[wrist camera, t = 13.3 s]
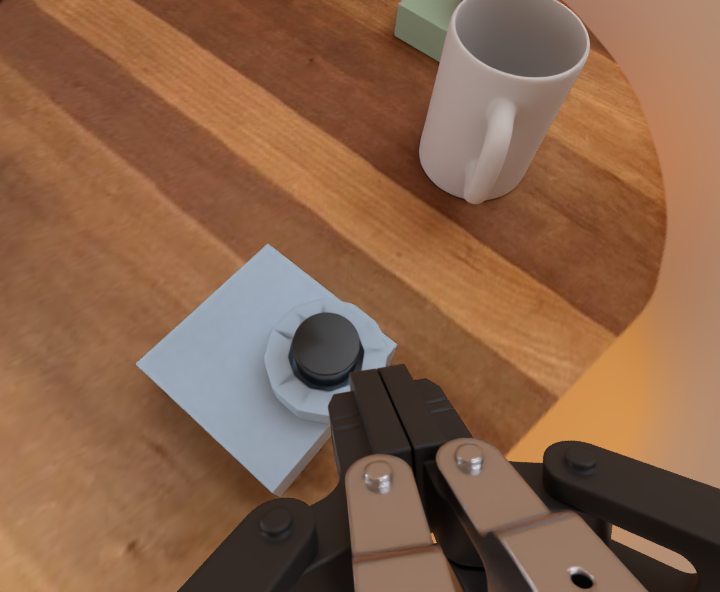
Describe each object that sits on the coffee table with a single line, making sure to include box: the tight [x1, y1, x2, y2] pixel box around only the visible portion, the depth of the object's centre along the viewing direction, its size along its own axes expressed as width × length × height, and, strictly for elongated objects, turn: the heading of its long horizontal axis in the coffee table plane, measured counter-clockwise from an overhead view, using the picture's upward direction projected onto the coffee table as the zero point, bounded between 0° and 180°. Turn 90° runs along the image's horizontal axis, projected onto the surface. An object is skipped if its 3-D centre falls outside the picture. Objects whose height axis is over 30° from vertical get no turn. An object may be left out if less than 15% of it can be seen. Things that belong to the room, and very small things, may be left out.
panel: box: [394, 0, 461, 62], centre depth 43 cm, size 12×10×3 cm
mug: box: [419, 0, 590, 204], centre depth 33 cm, size 12×8×11 cm
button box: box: [136, 244, 397, 497], centre depth 27 cm, size 11×10×6 cm
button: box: [293, 312, 360, 387], centre depth 24 cm, size 3×3×2 cm
